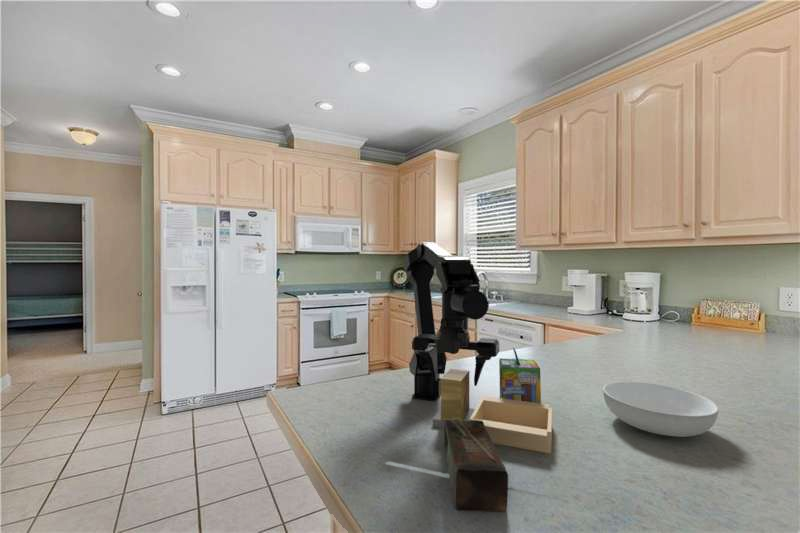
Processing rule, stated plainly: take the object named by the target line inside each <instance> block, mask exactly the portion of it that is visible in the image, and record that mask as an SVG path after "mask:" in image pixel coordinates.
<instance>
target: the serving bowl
mask: <svg viewBox="0 0 800 533" xmlns="http://www.w3.org/2000/svg"><path fill="white" fill-rule="evenodd" d="M602 392H603V398H604V402H605V404H606V406H607V407H608V408H609V410H610V412H611V413H612V414H613V415H614V416H616V417H617V418H618V419H619V420H621V421H622V422H623V423H625V424H627V425H630V426H632V427H634V428H637V429H639V430H642V431H645V432H649V433H651V434H655V435H661V436H669V437H678V438H679V437H682V438H684V437H694V436H698V435H702V434H704V433H706V432H707V431H709V430H710V429H711V428H713V426H714V425H715V423H716V422H717V419H718V415H719V407H718V406H717V404H716V403H715V402H713V401H711V400H710V399H709V398H707V397H704V396H702V395H700V394H697V393H694V392H691V391H688V390H685V389H681V388H679V387H674V386H669V385H665V384H659V383H654V382H653V383H652V382H645V381H631V380H630V381H627V380H626V381H625V380H624V381H614V382H610V383H606V384H605V385H604V386H603V387H602Z"/></svg>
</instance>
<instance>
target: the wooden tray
mask: <svg viewBox="0 0 800 533" xmlns="http://www.w3.org/2000/svg"><path fill="white" fill-rule="evenodd" d="M549 406H550V405H549V404H548V403H547V404H546V403H541V404H540V403H533V402H525V401H518V400H510V399H503V398H500V397H496V396H495V397H494V396H487V395H486V396H484V398H480V399H479V401H478V403H477V405H476V406H475V408H474V409H475V410H474V412H473V414H472V416H471V417H470V420H478V421H483V423H484V425H485V428H486V430H487V432H488V434H489V436H490V438H491V440H492V442H493V444H495V445H502V446H506V447H507V446H508V447H512V448H518V449H523V450H528V451H535V452H542V453H546V454H552V437H553V435H552V434H553V408H552V407H549Z"/></svg>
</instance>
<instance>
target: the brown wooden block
mask: <svg viewBox="0 0 800 533" xmlns="http://www.w3.org/2000/svg"><path fill="white" fill-rule="evenodd" d="M440 378H441V394H440V409H441V419H442V420H452V419H454V418H458V419H460V420H463V419H464V417H465V415H466V414H467V412H468V411H469V408H470V370H466V369H457V368H450V369H449V370H448V371H447V372H445V373H444V374H443V376H442V377H440Z"/></svg>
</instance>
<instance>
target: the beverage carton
mask: <svg viewBox="0 0 800 533" xmlns="http://www.w3.org/2000/svg"><path fill="white" fill-rule="evenodd" d="M443 442H444V444H443V447H444V451H445V456H446V464H447V470H448V476H449V483H450V488H451V493H452V497H453V502H454V503H453V504H454V506H455V509H456V510H458V511H459V510H464V511H483V512H501V513H502V512H503V513H504V512H506V511H507V510H508V496H509V495H508V494H509V490H508V489H509V474H508V471H507V470H506V467H505V465H504V462H503V461H502V459H501V457H500V455H499V452H498V450H497V449H496V447H495V445H494V444H495V443H493V442H492V440H491V438H490V436H489V434H488V432H487V430H486V428H485V425H484V423H483V421H478V420H460V419H458V418H454V419H452V420H445V424H444V428H443Z"/></svg>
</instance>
